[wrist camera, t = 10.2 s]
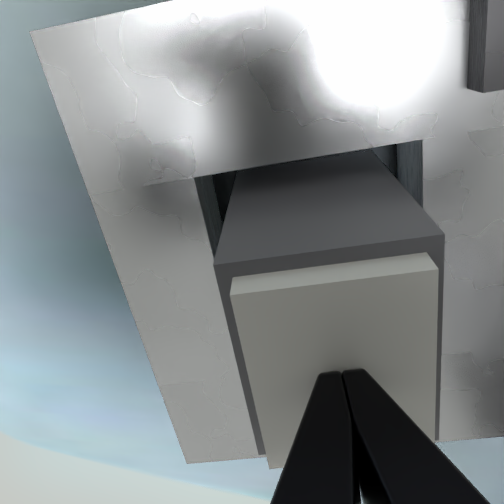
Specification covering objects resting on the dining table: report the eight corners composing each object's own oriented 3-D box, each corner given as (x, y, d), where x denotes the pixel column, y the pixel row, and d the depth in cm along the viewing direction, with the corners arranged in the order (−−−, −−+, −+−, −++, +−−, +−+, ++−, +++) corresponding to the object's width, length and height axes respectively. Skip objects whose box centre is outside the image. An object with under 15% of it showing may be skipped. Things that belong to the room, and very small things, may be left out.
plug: (378, 293, 15) (448, 464, 9) (263, 307, 15) (258, 479, 9) (371, 149, 13) (459, 250, 7) (237, 170, 13) (208, 282, 7)
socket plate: (534, 377, 16) (591, 451, 13) (197, 411, 18) (182, 484, 15) (600, -80, 10) (734, -128, 7) (74, 32, 11) (9, 31, 9)
